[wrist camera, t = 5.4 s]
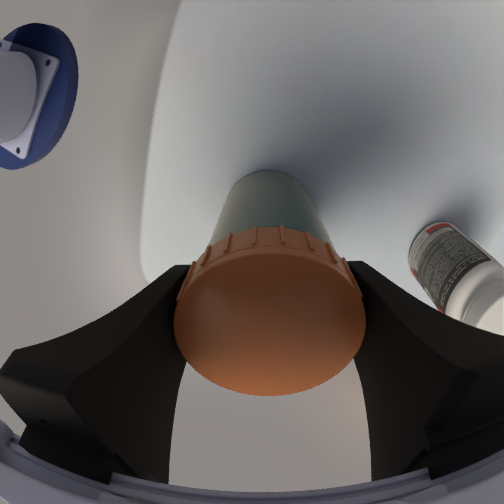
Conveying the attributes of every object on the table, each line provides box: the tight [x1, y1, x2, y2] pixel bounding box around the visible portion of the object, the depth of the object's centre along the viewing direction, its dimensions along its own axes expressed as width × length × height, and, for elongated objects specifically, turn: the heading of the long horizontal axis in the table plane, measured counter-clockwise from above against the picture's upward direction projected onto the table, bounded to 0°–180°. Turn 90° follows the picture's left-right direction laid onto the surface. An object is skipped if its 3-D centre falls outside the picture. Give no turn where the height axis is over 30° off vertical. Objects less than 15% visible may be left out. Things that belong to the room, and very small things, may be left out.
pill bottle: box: [409, 222, 504, 336], centre depth 15 cm, size 5×5×8 cm
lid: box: [173, 225, 366, 396], centre depth 9 cm, size 6×6×2 cm
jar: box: [209, 170, 336, 252], centre depth 13 cm, size 5×5×10 cm
